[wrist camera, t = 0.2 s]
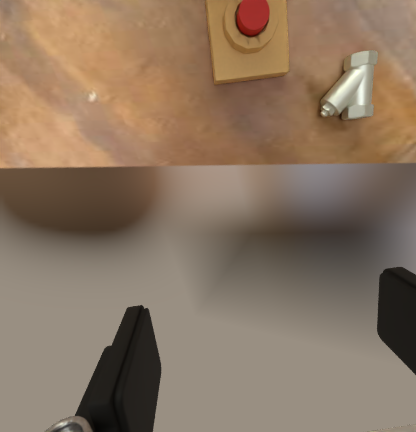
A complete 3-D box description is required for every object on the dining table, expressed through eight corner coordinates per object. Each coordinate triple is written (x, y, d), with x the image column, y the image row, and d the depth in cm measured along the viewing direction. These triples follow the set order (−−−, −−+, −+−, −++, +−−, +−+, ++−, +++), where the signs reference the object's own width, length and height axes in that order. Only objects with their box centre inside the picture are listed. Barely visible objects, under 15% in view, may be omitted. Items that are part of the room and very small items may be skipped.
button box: (202, -17, 33) (204, -39, 29) (279, -26, 33) (290, -49, 30) (214, 85, 36) (216, 77, 32) (283, 75, 37) (294, 67, 33)
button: (235, 3, 31) (237, -5, 29) (264, -1, 31) (268, -9, 29) (238, 37, 32) (240, 31, 30) (266, 34, 32) (270, 27, 30)
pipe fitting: (315, 122, 39) (361, 118, 38) (326, 120, 35) (377, 115, 35) (316, 63, 37) (365, 58, 36) (328, 54, 33) (382, 48, 33)
